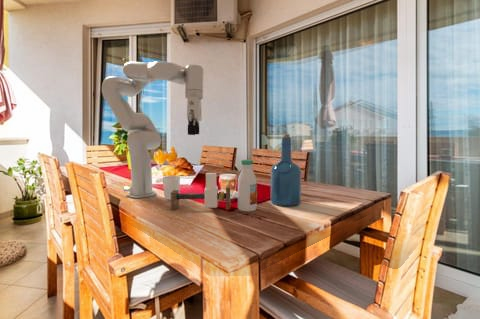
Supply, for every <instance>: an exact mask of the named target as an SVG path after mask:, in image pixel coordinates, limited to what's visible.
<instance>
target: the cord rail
mask: <svg viewBox="0 0 480 319" xmlns="http://www.w3.org/2000/svg"><path fill="white" fill-rule="evenodd" d="M225 186H226V187H225V192H224V191H218V193H217V199H218V202H219V201H225V210H227V211H229V210H228V209H230V210H231V185H230V184H227V185H225ZM180 200H205V196H204V192H197V193H196V192H194V193H193V192H191V193H190V192H187V193H183V192H182V193H181V192H179V190H173V191H172V192H171V200H170V208H171V211H177V210H178V209H179V207H180Z"/></svg>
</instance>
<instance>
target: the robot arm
mask: <svg viewBox="0 0 480 319" xmlns="http://www.w3.org/2000/svg"><path fill="white" fill-rule="evenodd" d="M122 66H123V67H122V72H123V75H124V76H125V77H126V78H124V77H120V76H113V75H112V76H108V77H106V78H104V79H103V82H102V83H101V93H102V94H101V95H102V97H103V98H104V100H105V102H106V104H107V105H108V107H109V108H110V109H111V111H112V113H113V115H114V117H115V118H116V120H117V122H118V123H119V125H120V127H121V128H122V129H123V131H125V132H129V134H128V136H127V138H126V139H127V140H126V143H127V148H128V151H129V152H128V153H129V160H130V161H129V162H130V176H131V177H130V178H131V180H130V181H131V186H124V187H123V192H129V193H128V197H129V198H133V199H134V198H135V199H143V198H150V197H154V196H156V194H157V193H156V190H153V170H152V158H151V155H150V152H149V150H150V151H151V150H155V149H158V148H159V147H160V146H161V144H162V140H161V139H162V138H161V135H160V132H159V131H158V130H157V128H156V126H155V125H154V122H153V121H152V120H151V118H150V117H149V116H148V115H147V114H145V113H142V112H136V111H134V110H133V109H132V106H131V105H130V104H129V102H128V101H127V100H126V99H125V98H124V97H129V98H130V97H131V98H132V97H135V96H137V95H138V94H139V93H140V92H142V90H143V89H144V88H146V86H147V85H149V83H156V82H157V81H160V80H161V81H168V82H172V83H176V84H178V85H184V86H185V95H184V96H185V99H187V100H186V101H187V102H186V103H187V104H186V105H187V107H186V119H187V120H188V121H187V135H189V136H196V135H200V122H201V121H202V119H203V116H202V100H203V99H204V68H203V67H202V66H201V65H199V64H188V65H186V67H185V66H183V65H179V64H176V63H173V62H170V61H153V62H146V61H145V62H144V61H128V62H126V63H124V65H122ZM123 96H124V97H123Z"/></svg>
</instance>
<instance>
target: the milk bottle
mask: <svg viewBox="0 0 480 319" xmlns="http://www.w3.org/2000/svg"><path fill="white" fill-rule="evenodd" d="M253 167H254V160H253V159H242V160H241V170H240V173H239V176H238V179H237V210H239V211H241V212H245V213H246V212H255V211H256V210H257V208H258V182H257V181H258V180H257V176H256V174H255V172H254V168H253Z"/></svg>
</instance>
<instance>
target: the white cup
mask: <svg viewBox="0 0 480 319" xmlns="http://www.w3.org/2000/svg"><path fill="white" fill-rule="evenodd" d="M180 182H181V177H180V176H179V175H167V176H162V188H163V195H164V200H168V201H171V192H172V191H173V190H179V193H181V192H180V190H181V189H180V187H181V185H180Z"/></svg>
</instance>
